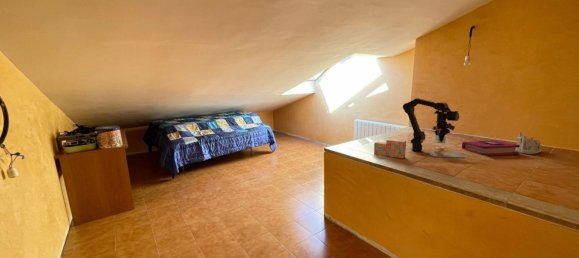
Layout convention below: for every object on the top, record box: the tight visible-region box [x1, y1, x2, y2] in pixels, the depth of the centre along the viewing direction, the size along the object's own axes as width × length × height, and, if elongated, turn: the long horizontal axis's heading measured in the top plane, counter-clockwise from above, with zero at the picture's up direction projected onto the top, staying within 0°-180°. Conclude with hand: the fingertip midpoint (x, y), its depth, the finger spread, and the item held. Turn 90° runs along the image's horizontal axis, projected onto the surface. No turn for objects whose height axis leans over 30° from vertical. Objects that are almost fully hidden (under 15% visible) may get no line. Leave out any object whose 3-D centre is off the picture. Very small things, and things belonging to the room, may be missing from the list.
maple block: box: [434, 146, 446, 155], centre depth 179 cm, size 5×5×5 cm
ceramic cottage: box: [515, 131, 543, 155], centre depth 182 cm, size 16×16×15 cm
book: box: [461, 140, 520, 157], centre depth 186 cm, size 21×28×8 cm
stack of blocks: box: [373, 138, 407, 159], centre depth 182 cm, size 21×6×12 cm, turn 50°
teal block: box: [434, 134, 447, 144], centre depth 178 cm, size 5×5×5 cm
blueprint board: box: [427, 151, 466, 159], centre depth 178 cm, size 20×12×1 cm, turn 74°
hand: (440, 141), depth 178 cm, fingers closed on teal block, 5 cm apart
